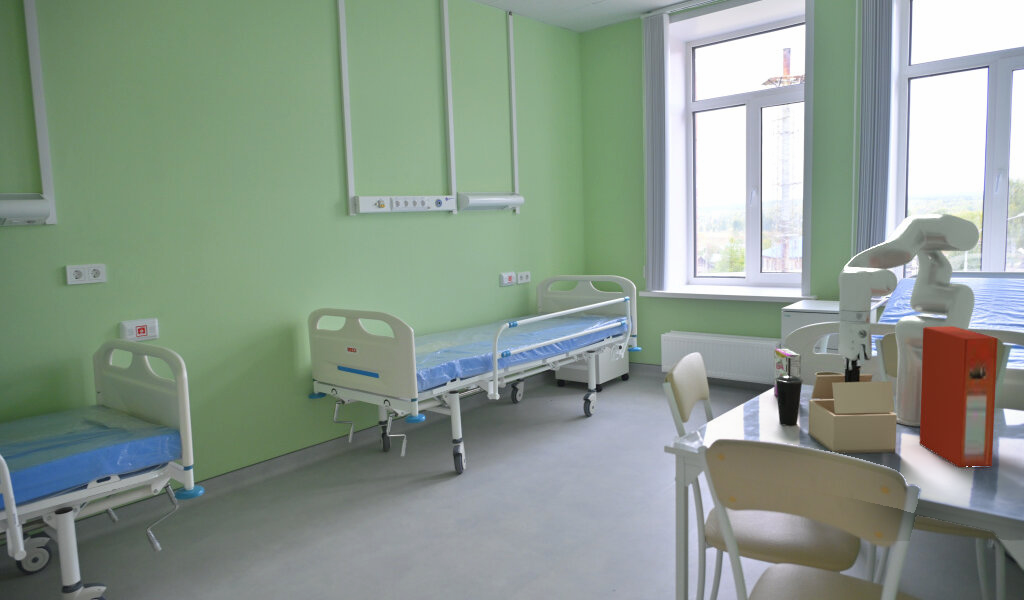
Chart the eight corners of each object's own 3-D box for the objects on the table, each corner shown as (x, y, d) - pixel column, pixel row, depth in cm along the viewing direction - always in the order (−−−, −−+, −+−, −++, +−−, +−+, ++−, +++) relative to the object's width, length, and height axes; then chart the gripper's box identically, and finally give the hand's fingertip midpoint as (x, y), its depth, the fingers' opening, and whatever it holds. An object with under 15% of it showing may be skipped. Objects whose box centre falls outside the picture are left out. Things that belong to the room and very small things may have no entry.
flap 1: (865, 397, 189) (865, 396, 189) (872, 375, 185) (871, 373, 185) (811, 398, 190) (811, 397, 190) (817, 376, 185) (816, 375, 186)
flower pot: (810, 395, 231) (811, 371, 230) (839, 396, 229) (840, 371, 228) (819, 403, 221) (820, 377, 220) (849, 403, 220) (850, 377, 219)
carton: (865, 432, 191) (866, 398, 190) (895, 452, 175) (896, 414, 174) (808, 433, 191) (809, 399, 190) (833, 453, 176) (834, 416, 174)
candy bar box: (772, 394, 234) (773, 348, 232) (787, 394, 233) (788, 348, 232) (785, 403, 222) (786, 355, 220) (800, 403, 222) (801, 354, 220)
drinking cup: (804, 427, 197) (806, 361, 195) (777, 426, 198) (778, 360, 196) (799, 420, 204) (800, 355, 202) (772, 419, 206) (773, 355, 204)
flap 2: (890, 381, 176) (891, 381, 175) (893, 412, 174) (894, 412, 174) (832, 382, 176) (833, 382, 176) (834, 413, 175) (835, 413, 174)
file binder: (957, 467, 163) (963, 338, 159) (918, 444, 180) (923, 326, 176) (991, 467, 163) (999, 337, 159) (949, 443, 180) (954, 326, 176)
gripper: (883, 320, 171) (880, 390, 173) (855, 312, 186) (853, 377, 188) (853, 320, 171) (850, 391, 173) (828, 313, 186) (825, 377, 188)
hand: (851, 383), depth 180 cm, fingers closed
